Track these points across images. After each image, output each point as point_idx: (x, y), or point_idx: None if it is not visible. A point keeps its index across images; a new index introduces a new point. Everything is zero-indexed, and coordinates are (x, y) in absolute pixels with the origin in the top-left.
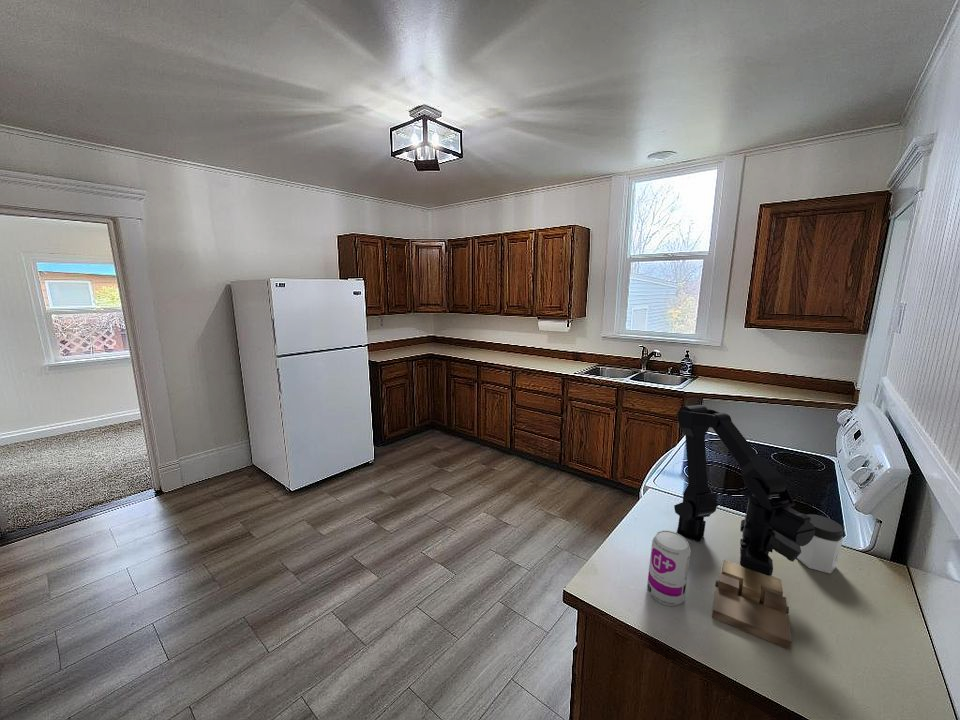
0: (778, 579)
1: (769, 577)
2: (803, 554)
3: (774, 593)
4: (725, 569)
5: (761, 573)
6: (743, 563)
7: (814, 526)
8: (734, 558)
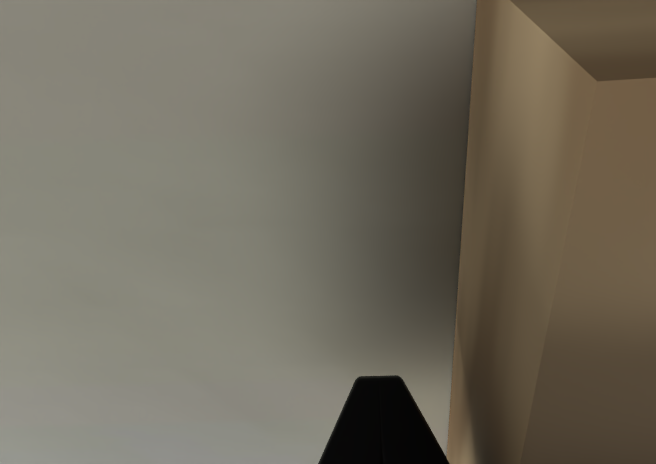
0: (643, 158)
1: (647, 342)
2: None
3: None
4: None
5: (554, 449)
6: None
7: None
8: (82, 432)
